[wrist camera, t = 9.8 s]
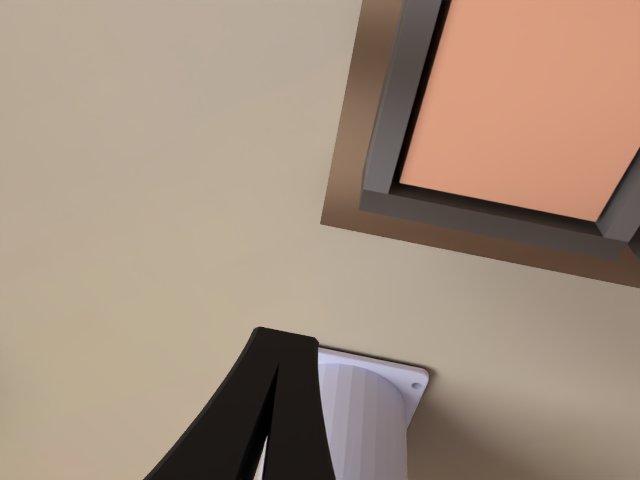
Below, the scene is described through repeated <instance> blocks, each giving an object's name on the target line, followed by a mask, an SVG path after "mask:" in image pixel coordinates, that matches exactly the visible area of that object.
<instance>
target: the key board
mask: <svg viewBox="0 0 640 480" xmlns="http://www.w3.org/2000/svg"><path fill="white" fill-rule="evenodd" d="M441 2H442V0H363V1H362V6H361V12H360V17H359V22H358V28H357V33H356V38H355V43H354V49H353V54H352V59H351V64H350V70H349V75H348V80H347V85H346V91H345V96H344V101H343V107H342V112H341V117H340V122H339V128H338V133H337V138H336V143H335V149H334V154H333V159H332V164H331V170H330V175H329V180H328V186H327V191H326V196H325V201H324V207H323V212H322V217H321V222H320V224H322V225H327V226H332V227H337V228H342V229H347V230H352V231H357V232H362V233H367V234H372V235H377V236H382V237H387V238H392V239H397V240H402V241H407V242H412V243H417V244H422V245H427V246H432V247H437V248H442V249H447V250H452V251H457V252H462V253H467V254H472V255H477V256H482V257H487V258H492V259H497V260H502V261H507V262H512V263H517V264H522V265H527V266H532V267H536V268H541V269H546V270H551V271H556V272H561V273H566V274H571V275H576V276H581V277H586V278H591V279H596V280H601V281H606V282H611V283H616V284H621V285H626V286H631V287H636V288H640V147H639V149H638V151H637V152H636V154H635V156H634V157H633V159H632V161H631V163H630V164H629V166H628V168H627V169H626V171H625V173H624V174H623V176H622V178H621V180H620V181H619V183H618V185H617V186H616V188H615V190H614V191H613V193H612V195H611V197H610V198H609V200H608V202H607V203H606V205H605V207H604V208H603V210H602V212H601V214H600V215H599V217H598V219H597V220H596V222H594V221H589V220H584V219H579V218H574V217H569V216H564V215H559V214H554V213H549V212H544V211H539V210H534V209H529V208H524V207H519V206H514V205H509V204H503V203H498V202H493V201H488V200H483V199H478V198H473V197H468V196H463V195H458V194H453V193H448V192H443V191H438V190H433V189H428V188H423V187H418V186H413V185H408V184H403V183H399V154H400V150H401V146H402V143H403V139H404V136H405V132H406V128H407V125H408V121H409V117H410V114H411V110H412V107H413V103H414V99H415V96H416V92H417V89H418V85H419V81H420V78H421V74H422V71H423V67H424V63H425V60H426V56H427V52H428V49H429V45H430V42H431V38H432V34H433V31H434V27H435V24H436V20H437V16H438V13H439V9H440V5H441Z"/></svg>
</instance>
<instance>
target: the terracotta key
mask: <svg viewBox="0 0 640 480" xmlns="http://www.w3.org/2000/svg"><path fill="white" fill-rule="evenodd" d="M639 147H640V0H442V2H441V5H440V9H439V13H438V16H437V20H436V24H435V27H434V31H433V34H432V38H431V42H430V45H429V49H428V52H427V56H426V60H425V63H424V67H423V71H422V74H421V78H420V81H419V85H418V89H417V92H416V96H415V99H414V103H413V107H412V110H411V114H410V117H409V121H408V125H407V128H406V132H405V136H404V139H403V143H402V146H401V150H400V154H399V183H403V184H408V185H413V186H418V187H423V188H428V189H433V190H438V191H443V192H448V193H453V194H458V195H463V196H468V197H473V198H478V199H483V200H488V201H493V202H498V203H503V204H509V205H514V206H519V207H524V208H529V209H534V210H539V211H544V212H549V213H554V214H559V215H564V216H569V217H574V218H579V219H584V220H589V221H594V222H596V220H597V219H598V217H599V215H600V214H601V212H602V210H603V208H604V207H605V205H606V203H607V202H608V200H609V198H610V197H611V195H612V193H613V191H614V190H615V188H616V186H617V185H618V183H619V181H620V180H621V178H622V176H623V174H624V173H625V171H626V169H627V168H628V166H629V164H630V163H631V161H632V159H633V157H634V156H635V154H636V152H637V151H638V149H639Z"/></svg>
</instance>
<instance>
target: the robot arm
mask: <svg viewBox="0 0 640 480" xmlns="http://www.w3.org/2000/svg"><path fill="white" fill-rule="evenodd" d="M318 346H319V342H318V341H317V339H316V338H315V337H310V336H305V335H300V334H295V333H289V332H284V331H279V330H274V329H269V328H264V327H257V328H255V329H254V330H253V332H252V334H251V336H250V338H249V340H248V342H247V344H246V346H245V347H244V349H243V351H242V353H241V354H240V356H239V358H238V359H237V361H236V362H235V364H234V366H233V367H232V369H231V370H230V372H229V373H228V375H227V376H226V378H225V379H224V381H223V382H222V383H221V385H220V386H219V388H218V389H217V390H216V392H215V393H214V394H213V396H212V397H211V399H210V400H209V401H208V403H207V404H206V406H205V407H204V408H203V410H202V411H201V412H200V413H199V415H198V416H197V417H196V418H195V420H194V421H193V422H192V423H191V425H190V426H189V427H188V428H187V430H186V431H185V432H184V433H183V435H182V436H181V437H180V438H179V439H178V441H177V442H176V443H175V444H174V446H173V447H172V448H171V449H170V450H169V451H168V453H167V454H166V455H165V456H164V457H163V458H162V459H161V461H160V462H159V463H158V464H157V465H156V466H155V467H154V468H153V470H152V471H151V472H150V473H149V474H148V475H147V476H146V477H145V478H144V479H143V480H253V479H254V476H255V473H256V470H257V467H258V463H259V460H260V457H261V454H262V451H263V448H264V446H265V448H264V452H263V456H262V461H261V465H260V469H259V473H258V478H257V480H408V473H407V434H406V430H407V428H408V426H409V424H410V422H411V419H412V417H413V415H414V413H415V410H416V408H417V406H418V404H419V402H420V399H421V397H422V395H423V393H424V390H425V388H426V386H427V384H428V382H429V374H428V372H427V371H426V370H425V369H422V368H418V367H413V366H408V365H403V364H398V363H393V362H388V361H383V360H378V359H373V358H369V357H364V356H359V355H354V354H349V353H344V352H339V351H334V350H329V349H324V348H319V347H318Z"/></svg>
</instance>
